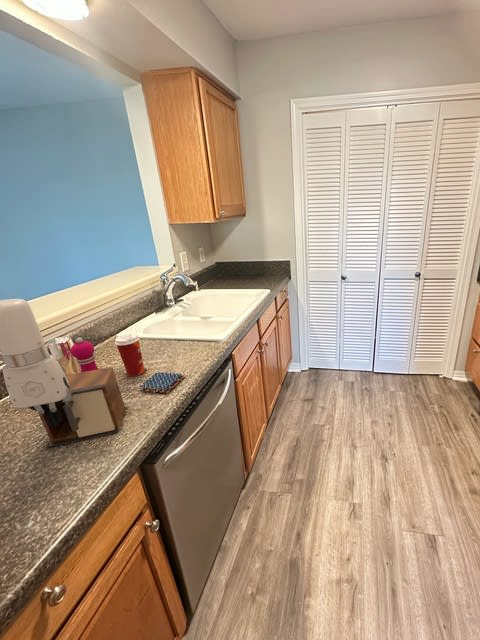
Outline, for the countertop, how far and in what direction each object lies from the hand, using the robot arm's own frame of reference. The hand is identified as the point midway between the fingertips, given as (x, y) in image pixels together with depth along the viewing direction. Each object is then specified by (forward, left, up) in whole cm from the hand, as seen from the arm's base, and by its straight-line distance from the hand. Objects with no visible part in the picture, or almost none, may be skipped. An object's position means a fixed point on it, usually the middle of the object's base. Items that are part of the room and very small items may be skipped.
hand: (56, 423), depth 78 cm
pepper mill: (+1, +27, -9) cm, 28 cm away
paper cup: (+11, +38, -9) cm, 40 cm away
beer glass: (-10, +42, -9) cm, 44 cm away
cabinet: (+3, +10, -8) cm, 13 cm away
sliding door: (+6, +2, -7) cm, 10 cm away
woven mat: (+21, +25, -9) cm, 33 cm away
